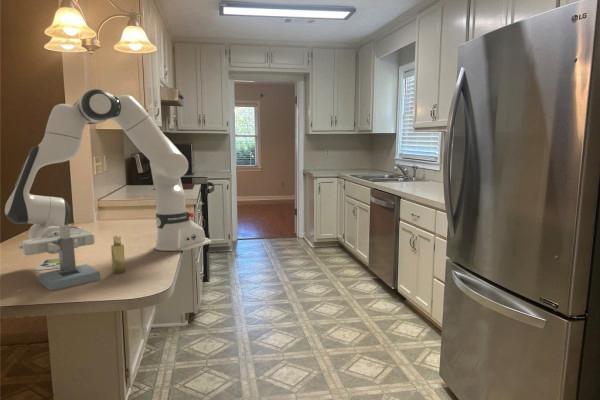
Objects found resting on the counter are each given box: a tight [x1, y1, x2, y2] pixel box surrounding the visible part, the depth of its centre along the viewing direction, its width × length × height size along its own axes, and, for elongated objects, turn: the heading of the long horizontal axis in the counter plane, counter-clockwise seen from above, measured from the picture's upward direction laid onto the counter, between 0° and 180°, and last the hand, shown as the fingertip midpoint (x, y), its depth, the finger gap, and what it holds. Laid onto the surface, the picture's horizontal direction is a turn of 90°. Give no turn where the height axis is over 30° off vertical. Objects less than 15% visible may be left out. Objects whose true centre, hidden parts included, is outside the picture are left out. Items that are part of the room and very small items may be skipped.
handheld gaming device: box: [33, 257, 60, 272], centre depth 151 cm, size 9×1×15 cm
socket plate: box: [38, 263, 101, 292], centre depth 132 cm, size 14×12×2 cm
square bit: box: [58, 224, 77, 272], centre depth 130 cm, size 3×3×14 cm
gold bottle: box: [110, 235, 126, 275], centre depth 139 cm, size 4×4×12 cm
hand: (67, 246), depth 130 cm, fingers closed on square bit, 3 cm apart
